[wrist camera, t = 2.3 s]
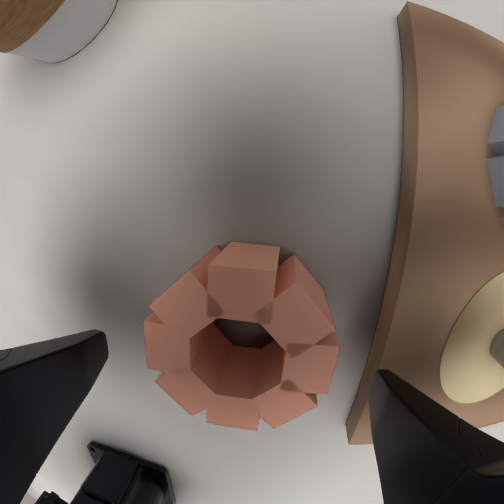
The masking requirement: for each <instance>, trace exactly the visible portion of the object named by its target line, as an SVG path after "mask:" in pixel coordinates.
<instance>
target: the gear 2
mask: <svg viewBox="0 0 504 504" xmlns="http://www.w3.org/2000/svg"><path fill="white" fill-rule="evenodd" d="M503 105H504V102H503ZM486 144H487V145H488V146H489V147H490V148H491V149H492V150H493V151H494V152H495V153H496V154H497V155H498V156H496V157H491V158H487V159H486V160H487V165H488V169H489V174H490V178H491V183H492V189H493V194H494V200H495V206H497V207H503V208H504V106H502V107H499V108H497V109H496V112H495V116H494V120H493V123H492V127H491V130H490V133H489V137H488V140H487V143H486ZM501 219H502V220H503V221H504V213H503V215H502V218H501Z"/></svg>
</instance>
